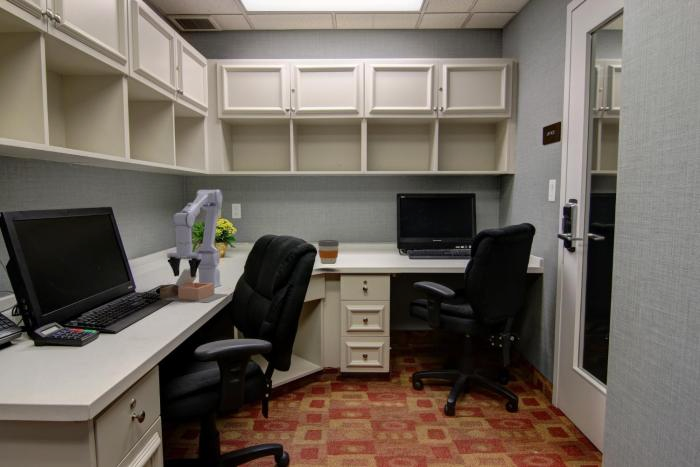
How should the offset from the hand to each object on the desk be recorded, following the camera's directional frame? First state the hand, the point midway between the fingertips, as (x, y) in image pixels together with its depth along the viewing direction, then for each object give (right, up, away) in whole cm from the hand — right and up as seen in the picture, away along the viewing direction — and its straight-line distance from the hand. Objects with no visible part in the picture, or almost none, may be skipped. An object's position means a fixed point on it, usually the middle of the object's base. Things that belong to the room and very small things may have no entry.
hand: (185, 276), depth 163 cm
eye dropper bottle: (-3, -5, +4) cm, 7 cm away
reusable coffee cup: (+53, -2, +85) cm, 101 cm away
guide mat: (+3, -8, 0) cm, 9 cm away
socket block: (+5, -8, -1) cm, 9 cm away
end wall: (-5, -8, +2) cm, 10 cm away
